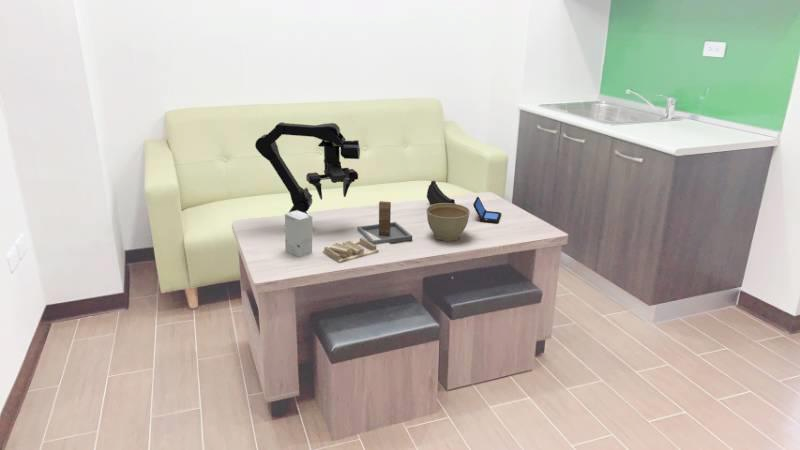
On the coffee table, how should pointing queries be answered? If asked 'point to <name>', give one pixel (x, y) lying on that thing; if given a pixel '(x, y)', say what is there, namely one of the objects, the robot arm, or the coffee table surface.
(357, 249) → the offcut rack
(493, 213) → the handheld game console
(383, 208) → the walnut block
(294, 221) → the skincare box
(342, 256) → the offcut
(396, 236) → the tray
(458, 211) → the planter bowl
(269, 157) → the robot arm
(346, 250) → the offcut
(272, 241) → the coffee table surface
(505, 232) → the coffee table surface
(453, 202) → the black curved fin
